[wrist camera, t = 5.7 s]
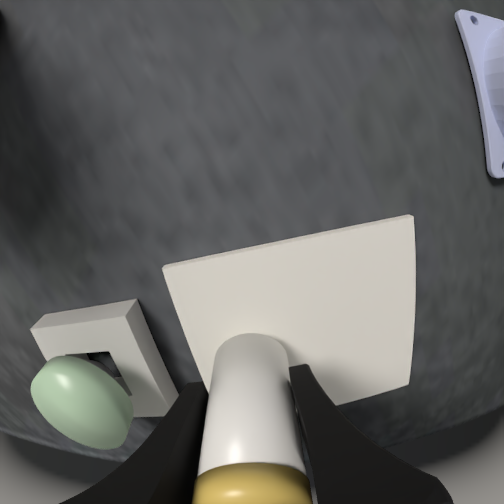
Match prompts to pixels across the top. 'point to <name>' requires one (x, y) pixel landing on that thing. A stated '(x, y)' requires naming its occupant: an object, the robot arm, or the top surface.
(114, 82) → the top surface
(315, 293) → the white rectangular plate
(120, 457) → the top surface
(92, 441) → the button
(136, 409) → the button housing
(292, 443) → the marker
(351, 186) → the top surface
